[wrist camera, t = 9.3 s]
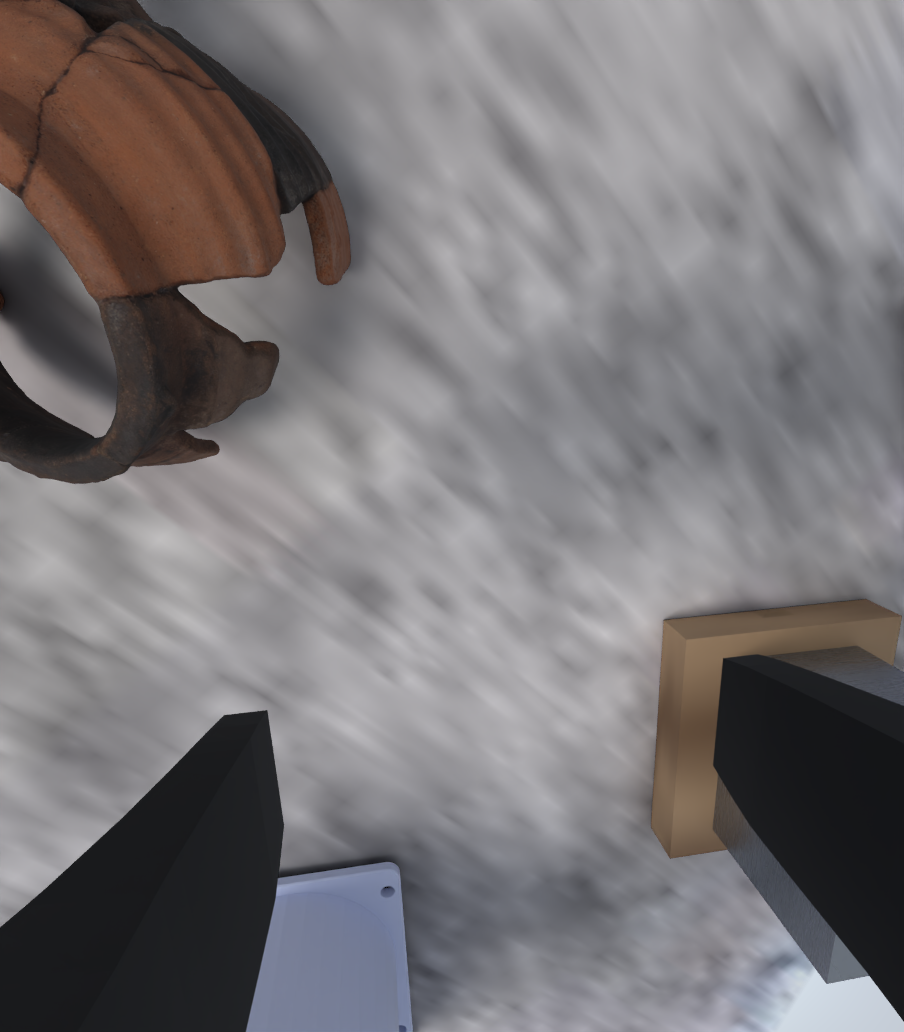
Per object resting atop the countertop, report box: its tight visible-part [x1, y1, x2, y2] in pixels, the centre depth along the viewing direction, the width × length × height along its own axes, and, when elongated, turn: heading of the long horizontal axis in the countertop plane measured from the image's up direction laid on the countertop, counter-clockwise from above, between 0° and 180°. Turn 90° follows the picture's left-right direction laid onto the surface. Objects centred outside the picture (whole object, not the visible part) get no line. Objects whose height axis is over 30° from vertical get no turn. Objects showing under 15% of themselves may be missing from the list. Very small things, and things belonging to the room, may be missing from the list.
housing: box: [712, 646, 904, 984], centre depth 18 cm, size 7×5×6 cm
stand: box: [651, 599, 902, 859], centre depth 21 cm, size 9×8×2 cm
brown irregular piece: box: [0, 0, 351, 484], centre depth 13 cm, size 12×10×8 cm
